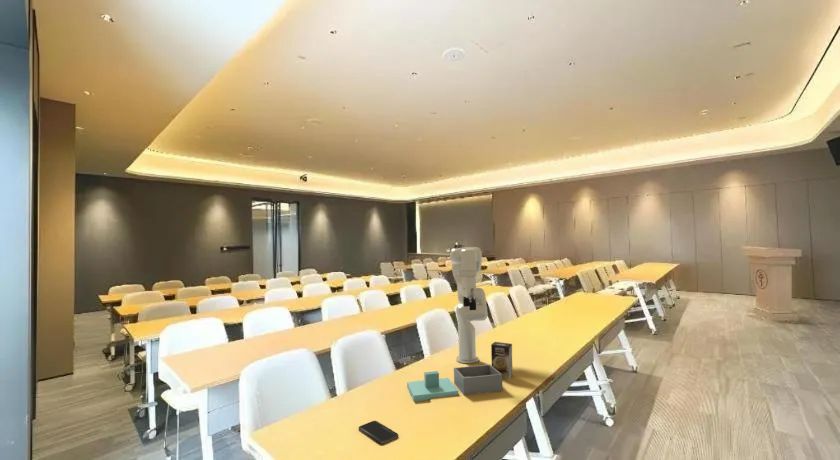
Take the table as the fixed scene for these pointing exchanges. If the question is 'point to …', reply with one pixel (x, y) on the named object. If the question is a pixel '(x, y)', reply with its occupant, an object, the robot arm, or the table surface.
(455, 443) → the table surface
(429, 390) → the lid
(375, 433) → the phone
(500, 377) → the tub
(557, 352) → the table surface
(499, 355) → the coffee box
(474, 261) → the robot arm
